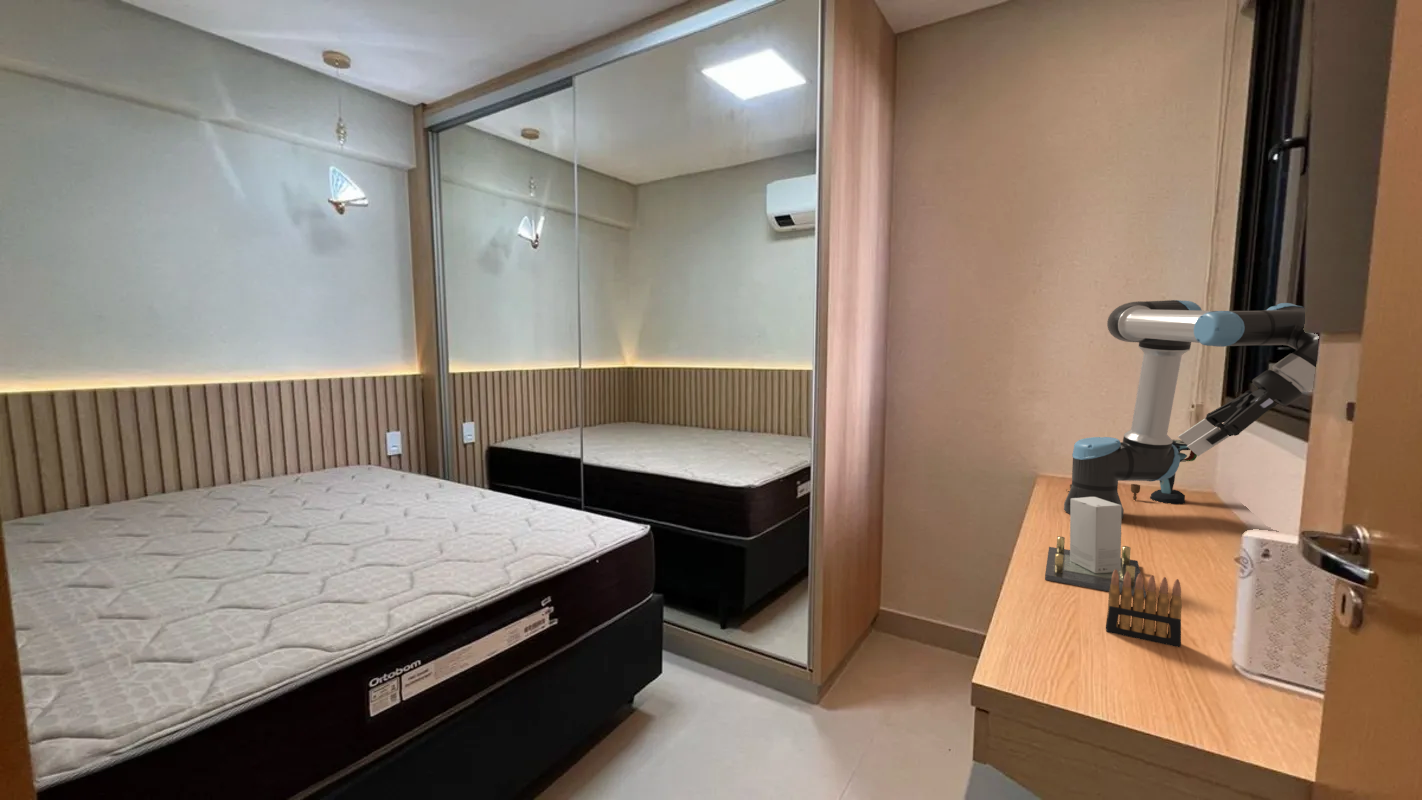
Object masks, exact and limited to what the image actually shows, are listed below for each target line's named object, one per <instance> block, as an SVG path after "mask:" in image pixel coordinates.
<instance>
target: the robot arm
mask: <svg viewBox="0 0 1422 800" xmlns="http://www.w3.org/2000/svg"><path fill="white" fill-rule="evenodd" d="M1304 308H1305V307H1304V306H1302V305H1296V304H1294V303H1290V302H1281V303H1278V304H1276V305H1273V306H1270V307H1268V308H1267V309H1263V310H1261V309H1260V310H1202V308H1201V306H1200V305H1199V304H1197V303H1196V302H1193V301H1190V300H1179V299H1178V300H1177V299H1169V300H1149V301H1148V300H1146V301H1140V300H1139V301H1130V302H1127V303H1124V304H1121V305H1119V306H1117V307H1115V309H1113V310H1112V311H1111V312H1110V314H1109V316H1108V318H1107V323H1106V324H1107V330H1108V333H1110V335H1111V336H1113V337H1114V338H1115V339H1117V340H1119V341H1121V342H1126V343H1138V348H1139V349H1140V351H1142V352H1143V356H1142V362H1141V368H1140V373H1139V374H1140V375H1139V380H1138V386H1137V392H1136V399H1135V403H1134V410H1133V411H1134V412H1133V415H1132V422H1131V428H1130V430H1128V431H1126V432H1125V433H1124V434H1123V439H1122V442H1121V440H1120V439H1118V438H1116V437H1108V436H1102V437H1101V436H1094V437H1093V436H1092V437H1086V438H1085V437H1084V438H1082V439H1078V440H1077V441H1076V442H1075V443H1074V445H1073V450H1072V467H1071V469H1072V473H1071V484H1072V487H1071V489H1070V488H1069V490H1070V491H1069V492H1068V494H1067V496H1066V498H1065V500H1064V503H1063V511H1064V510H1065V511H1066V512H1065V511H1064V512H1065V513H1067V514H1069V515H1070V499H1071V498H1083V497H1097V498H1100V499H1103V500H1106V501H1109V502H1113V503H1116V504H1119V505H1122V502H1121V499H1120V495H1119V492H1118V491H1119V490H1118V489H1119V488H1118V487H1119V486H1118V485H1119V482H1121V481H1125V482H1126V481H1129V482H1131V481H1133V482H1134V481H1135V482H1136V481H1137V482H1138V481H1139V482H1156V481H1157V482H1158V481H1159V480H1166V479H1168V478H1170V477H1172V476H1173V475H1174V474H1175V475H1176V473H1177V471H1178V469H1179V467H1180V463H1181V462H1180V456H1179V455H1178V453H1179V452H1178V449H1177V448H1176V447H1175V446H1174V445H1173V444H1172V442H1173V441H1172V440H1173V439H1172V438H1171V437H1170V436H1169V435H1168V431H1169V426H1170V420H1171V415H1172V410H1173V404H1174V399H1175V395H1176V389H1177V383H1178V378H1179V372H1180V367H1181V360H1182V356H1183V355H1184V354H1186V353H1187V352H1189V351H1190V350H1191V345H1192V343H1199V344H1201V345H1202V346H1207V347H1208V346H1209V347H1237V346H1239V347H1240V346H1282V345H1283V346H1288V347H1290V348H1292V349H1294V350H1295V351H1293V352H1292V353H1291V352H1290V353H1289V354H1288V355H1286V356H1284V358H1282V359H1280V360H1278V362H1276V363H1275V364H1273V365H1272V366H1271V368H1272V369H1267V370H1265V371H1263V372H1261V373H1260V374H1259V375H1257V376H1256V377H1254V378H1253V379H1252V380H1251V382H1252V384H1253V385H1254V387H1256V388H1257V389H1256V390H1254V391H1252V390H1251V389H1249V390H1246V391H1245V392H1244V393H1242V394H1241V395H1239V396H1237V397H1236V398H1234V399H1232V400H1230V401H1228V402H1226V403H1225V404H1223V405H1221V406H1219V407H1218V408H1216V409H1214V410H1212V411H1211V412H1208V413H1207V414H1206V416H1205V417H1204V419H1202V420H1200V421H1198V423H1195V424H1194V425H1192V427H1190V428H1188V429H1187V430H1185V431H1184V432H1182V433H1180V434H1179V435H1178V436H1177V438H1178V439H1179V440H1181V441H1183V442H1184V443H1185V444H1187V445H1188V446H1187V447H1188V448H1189V449H1190V450H1189V451H1191V450H1192V451H1193V452H1194V453H1195V454H1196V455H1197V457H1200V456H1201V455H1203V454H1204V453H1206V452H1208V451H1209V450H1211V449H1212V448H1214V447H1216V446H1217V445H1218V444H1220V443H1221V442H1223V441H1225V440H1226V439H1228V438H1229V437H1233V436H1234V437H1235V436H1238V435H1240V434H1241V433H1242V432H1243V431H1245V430H1246V428H1248V427H1249V426H1251V425H1252V424H1253V423H1254V422H1256V421H1257V420H1258V419H1259V418H1260V417H1262V416H1263V415H1264V414H1266V413H1267V412H1268V411H1269V410H1271V409H1272V408H1275V407H1276V406H1277V405H1278V404H1279V405H1280V406H1286V407H1287V406H1289V405H1290V404H1291V403H1293V402H1295V401H1296V400H1298V399H1300V398H1301V397H1303V396H1302V395H1303V392H1305V393H1308V392H1310V391H1311V390H1313V389H1314V388H1313V381H1314V374H1315V367H1316V361H1317V349H1318V339H1319V336H1318V334H1316V333H1315V334H1314V333H1305V332H1304V330H1303V328H1304V324H1305V309H1304ZM1277 403H1278V404H1277ZM1123 518H1124V508H1123V505H1122V512H1121V520H1122V519H1123Z"/></svg>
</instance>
